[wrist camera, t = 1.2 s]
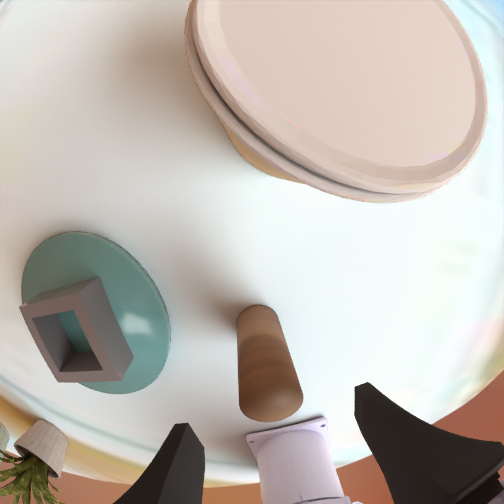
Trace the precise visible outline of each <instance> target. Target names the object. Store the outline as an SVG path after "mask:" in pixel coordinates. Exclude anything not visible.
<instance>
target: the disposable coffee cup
mask: <svg viewBox="0 0 504 504" xmlns="http://www.w3.org/2000/svg"><path fill="white" fill-rule="evenodd" d="M8 441H9V433H8V431H7V430H6V428H5V427H4V426H3V425H2V424H1V423H0V450H2V451H3V452H5V449H6V446H7V444H8ZM0 457H2V458H3V454H2V453H1V452H0ZM1 461H2V460H0V464H1Z"/></svg>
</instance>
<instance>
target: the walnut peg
mask: <svg viewBox="0 0 504 504" xmlns="http://www.w3.org/2000/svg"><path fill="white" fill-rule="evenodd" d="M237 351H238V384H239V406H240V409H241V411H242V412H243V414H244V415H245V416H247V417H248V418H250V419H253V420H256V421H260V422H274V421H279V420H282V419H285V418H287V417H289V416H291V415H292V414H294V413H295V412H296V411H297V410H298V409H299V408H300V406H301V405H302V402H303V393H302V390H301V386H300V383H299V380H298V377H297V374H296V371H295V368H294V365H293V362H292V359H291V356H290V352H289V349H288V346H287V343H286V340H285V337H284V334H283V331H282V328H281V325H280V322H279V319H278V316H277V314H276V313H275V311H274V310H272V309H271V308H269V307H267V306H264V305H254V306H250V307H248V308H246V309H245V310H244V311H242V312H241V314H240V315H239V317H238V320H237Z"/></svg>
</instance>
